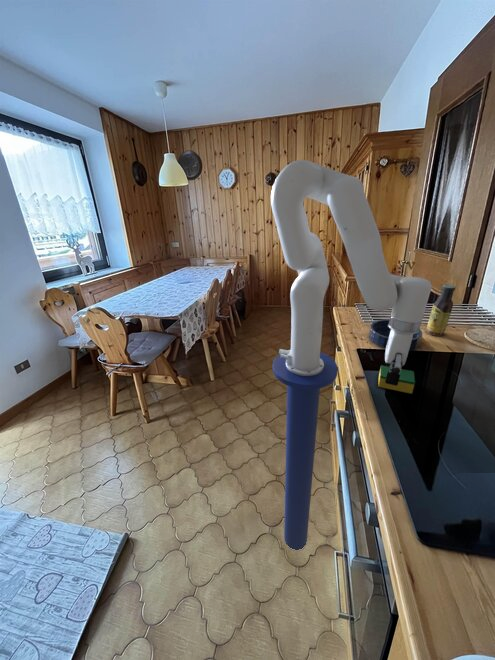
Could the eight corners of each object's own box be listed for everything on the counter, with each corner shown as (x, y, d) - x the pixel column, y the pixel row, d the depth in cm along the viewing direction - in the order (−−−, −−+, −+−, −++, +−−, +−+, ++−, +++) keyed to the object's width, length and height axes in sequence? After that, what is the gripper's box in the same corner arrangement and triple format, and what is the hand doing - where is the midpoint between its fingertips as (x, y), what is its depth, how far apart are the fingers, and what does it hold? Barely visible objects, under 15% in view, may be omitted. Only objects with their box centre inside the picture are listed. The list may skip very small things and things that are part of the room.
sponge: (378, 386, 85) (380, 375, 83) (378, 375, 90) (381, 365, 88) (412, 393, 81) (415, 382, 80) (411, 382, 86) (413, 371, 84)
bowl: (366, 347, 105) (368, 335, 103) (370, 327, 120) (371, 317, 117) (420, 356, 98) (424, 343, 96) (417, 334, 113) (420, 323, 110)
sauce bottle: (423, 329, 116) (435, 282, 107) (440, 330, 115) (454, 282, 106) (429, 336, 110) (442, 288, 102) (446, 337, 109) (462, 288, 100)
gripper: (389, 309, 85) (378, 357, 93) (389, 334, 71) (376, 388, 79) (418, 313, 82) (404, 362, 90) (423, 340, 68) (406, 395, 76)
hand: (391, 374), depth 85 cm, fingers open, 9 cm apart
